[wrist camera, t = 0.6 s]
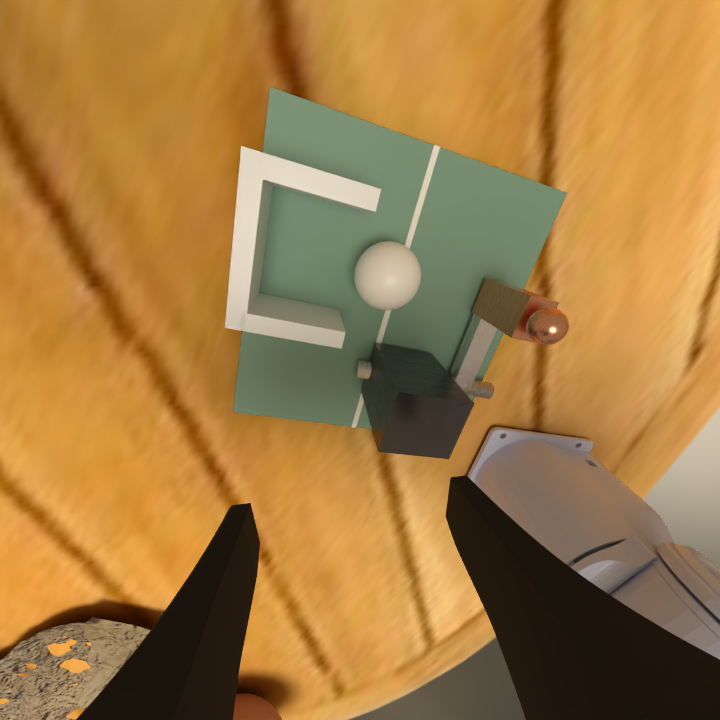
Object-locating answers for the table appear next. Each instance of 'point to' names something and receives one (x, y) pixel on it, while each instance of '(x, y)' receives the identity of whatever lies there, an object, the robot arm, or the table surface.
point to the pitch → (363, 229)
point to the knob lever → (448, 390)
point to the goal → (249, 245)
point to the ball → (387, 275)
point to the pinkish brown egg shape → (253, 708)
